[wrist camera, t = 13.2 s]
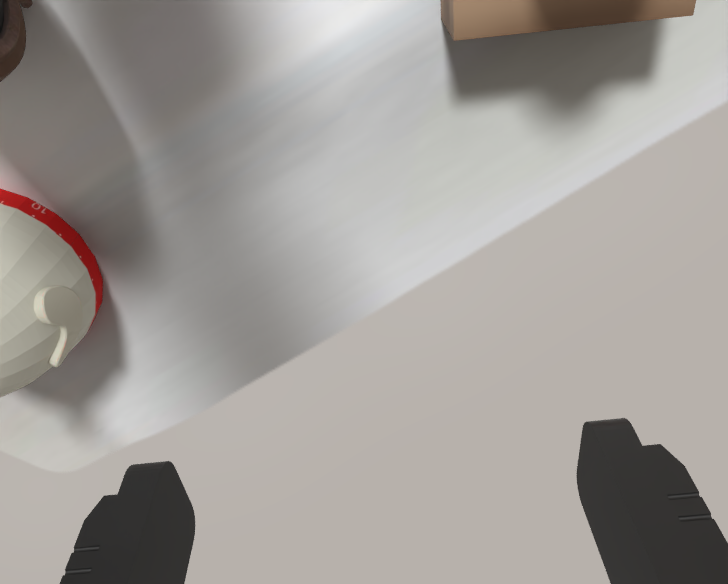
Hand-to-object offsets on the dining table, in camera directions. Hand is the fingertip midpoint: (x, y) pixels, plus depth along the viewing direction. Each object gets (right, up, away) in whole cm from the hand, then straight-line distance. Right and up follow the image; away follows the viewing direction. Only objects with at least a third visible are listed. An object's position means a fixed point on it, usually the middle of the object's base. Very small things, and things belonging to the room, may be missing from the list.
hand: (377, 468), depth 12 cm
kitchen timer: (-26, +5, +33) cm, 42 cm away
